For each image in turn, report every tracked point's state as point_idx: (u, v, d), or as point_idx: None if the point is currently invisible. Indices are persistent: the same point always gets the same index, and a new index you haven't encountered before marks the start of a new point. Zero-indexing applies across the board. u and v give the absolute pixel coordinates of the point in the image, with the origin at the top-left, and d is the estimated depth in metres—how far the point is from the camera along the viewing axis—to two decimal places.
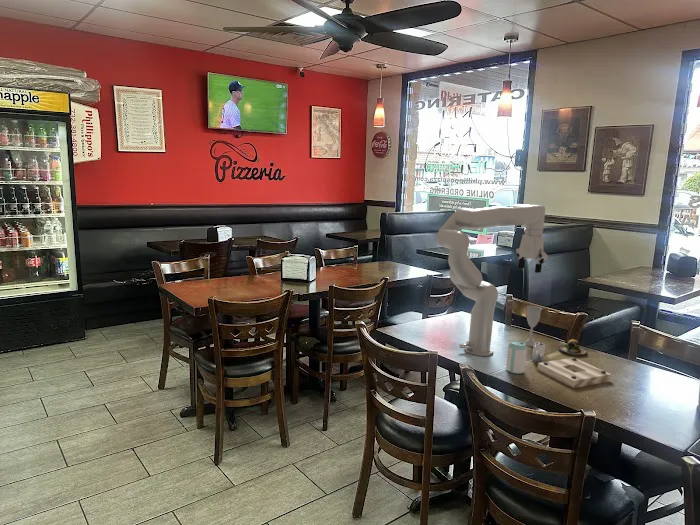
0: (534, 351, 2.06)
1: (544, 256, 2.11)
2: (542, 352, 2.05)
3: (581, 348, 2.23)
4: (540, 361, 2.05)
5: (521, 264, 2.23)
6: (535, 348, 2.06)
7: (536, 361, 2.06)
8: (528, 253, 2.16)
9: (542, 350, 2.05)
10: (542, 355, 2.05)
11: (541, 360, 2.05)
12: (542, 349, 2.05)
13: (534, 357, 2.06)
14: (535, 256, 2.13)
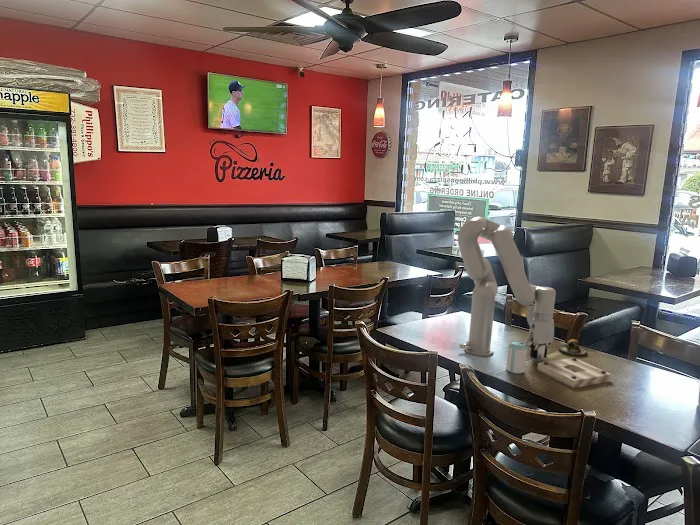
0: None
1: None
2: (542, 352, 2.05)
3: (581, 348, 2.23)
4: (540, 361, 2.05)
5: None
6: None
7: (536, 361, 2.06)
8: (547, 338, 2.04)
9: (542, 350, 2.05)
10: (542, 355, 2.05)
11: (541, 360, 2.05)
12: (542, 349, 2.05)
13: None
14: (553, 339, 2.06)
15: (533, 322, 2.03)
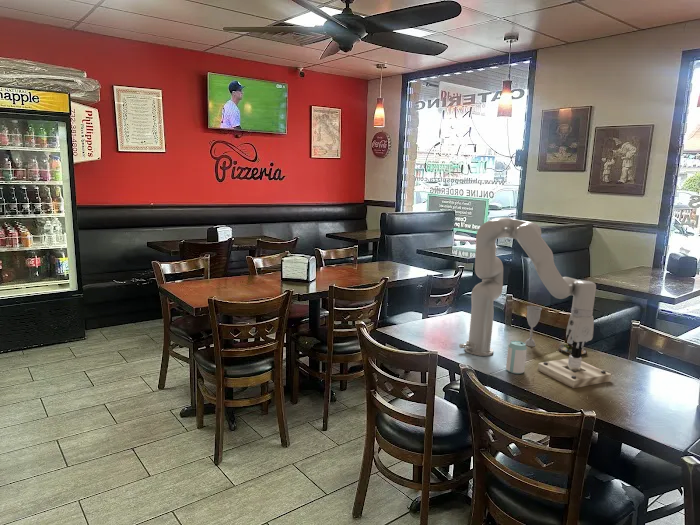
0: (569, 364, 1.93)
1: None
2: (578, 366, 1.92)
3: None
4: None
5: None
6: (571, 361, 1.92)
7: None
8: (586, 336, 1.89)
9: (578, 363, 1.91)
10: (578, 369, 1.92)
11: None
12: (578, 362, 1.91)
13: None
14: None
15: (571, 318, 1.89)
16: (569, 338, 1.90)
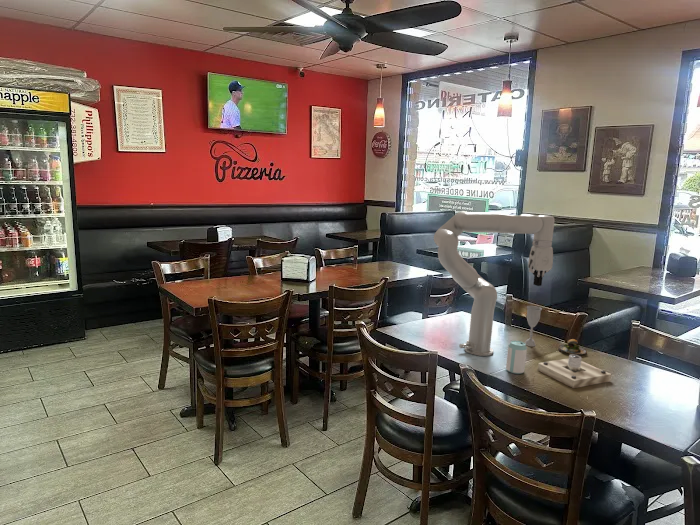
0: (569, 364, 1.93)
1: (547, 270, 2.13)
2: (578, 366, 1.92)
3: (581, 348, 2.24)
4: None
5: None
6: (571, 361, 1.93)
7: None
8: (546, 265, 2.09)
9: (578, 363, 1.92)
10: (578, 369, 1.92)
11: None
12: (578, 362, 1.91)
13: None
14: None
15: (532, 249, 2.09)
16: (530, 267, 2.10)
